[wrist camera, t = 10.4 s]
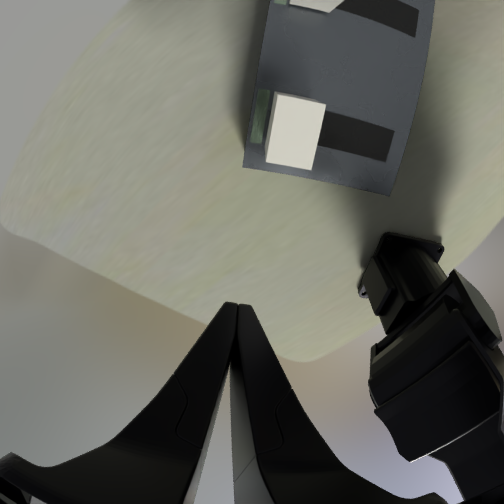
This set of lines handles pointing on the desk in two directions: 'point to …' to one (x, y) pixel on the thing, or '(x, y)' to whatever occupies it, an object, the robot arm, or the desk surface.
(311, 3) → the handle
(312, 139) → the handle
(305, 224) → the desk surface
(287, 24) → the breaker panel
